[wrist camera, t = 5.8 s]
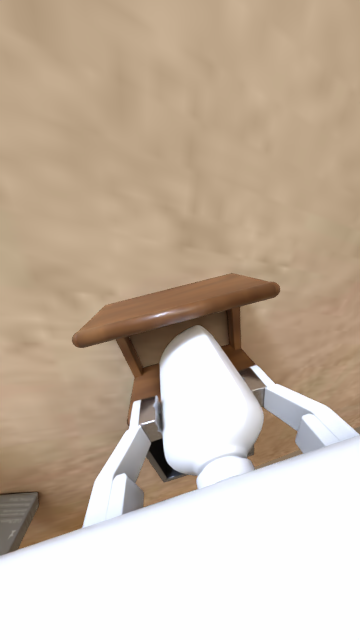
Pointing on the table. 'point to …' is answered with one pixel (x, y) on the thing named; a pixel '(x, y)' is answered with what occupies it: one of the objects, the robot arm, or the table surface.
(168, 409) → the eye dropper bottle
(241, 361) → the wooden shelf
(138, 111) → the table surface
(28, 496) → the cosmetic box
